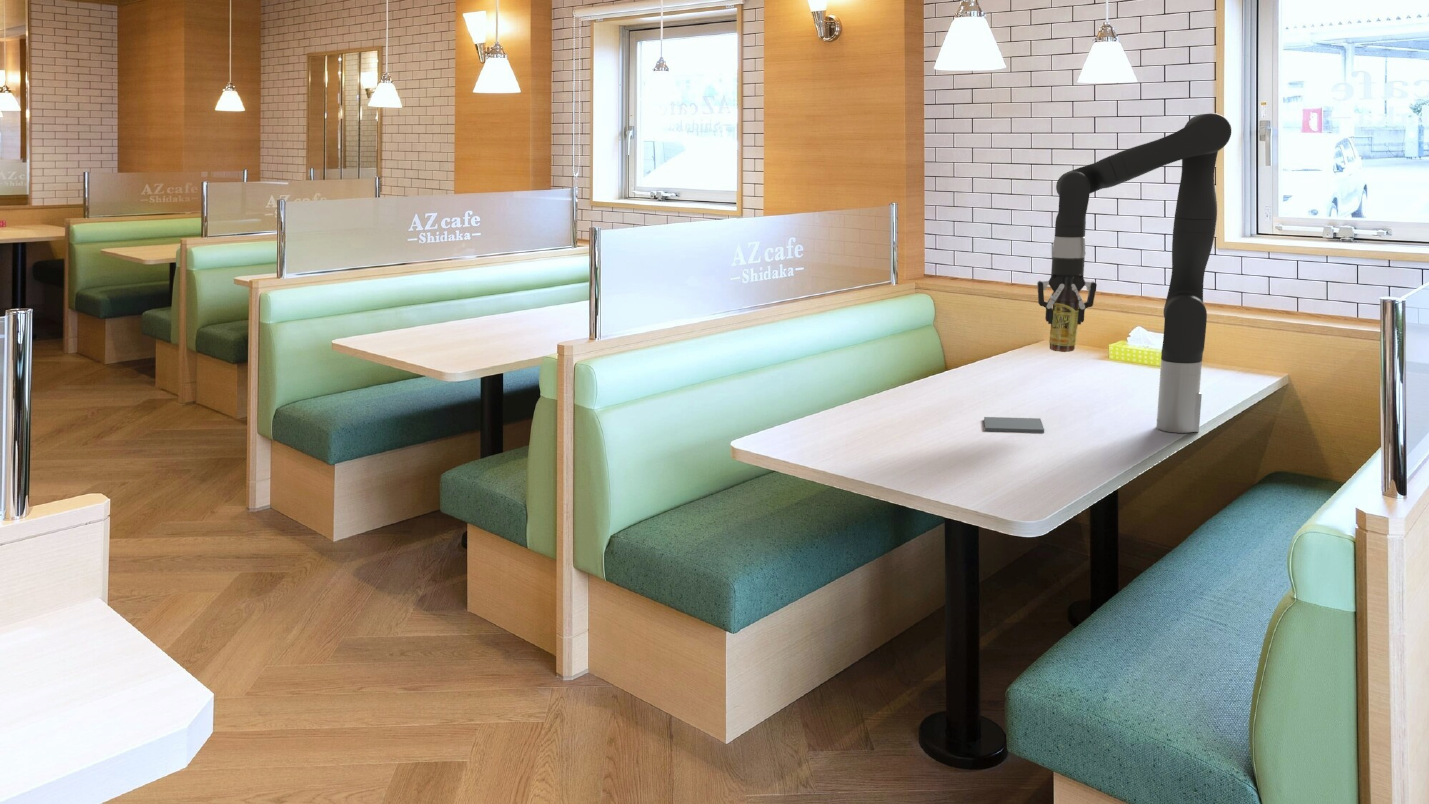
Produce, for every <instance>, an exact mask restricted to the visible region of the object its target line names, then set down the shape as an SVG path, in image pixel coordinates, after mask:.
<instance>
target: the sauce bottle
mask: <svg viewBox="0 0 1429 804" xmlns="http://www.w3.org/2000/svg"><path fill="white" fill-rule="evenodd" d="M1076 277H1077V276H1062V284H1064V288H1063V290H1062V291H1061V293H1060V295H1059V296H1058V298H1057V300H1056V301H1055V302H1054V304H1053V306H1052V324H1050V331H1049V350H1051V351H1054V352H1061V353H1066V352H1069V353H1070V352H1073V351H1075V346H1076V343H1077V334H1078V326H1079V325H1078V314H1079V301H1078V296H1077V295H1076V293H1075V292H1074V291H1073V290H1072V287H1071V285H1072V284H1076Z"/></svg>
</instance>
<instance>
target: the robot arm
mask: <svg viewBox="0 0 1429 804" xmlns="http://www.w3.org/2000/svg"><path fill="white" fill-rule="evenodd" d="M1231 136H1232V127H1231V123H1230V121H1228V119H1227V118H1226V117H1225V116H1223V115H1221V114H1219V113H1216V112H1207V113H1199V114H1197V115H1195V116H1192V117H1191V118H1190V119H1189V120H1188V121H1187V122H1186V123H1185V125H1184V127H1182V128H1181V129H1179V130H1177V131H1175V132H1172V133H1170V134H1169V135H1166V136H1164V137H1161V138H1157V139H1155V140H1153V141H1149V142H1146V143H1143V144H1139V145H1136V146H1133V147H1130V148H1127V149H1124V150H1121V151H1119V152H1116V153H1114V154H1111V155H1109V156H1106V157H1104V158H1102V159H1100V160H1098V161H1096V162H1094V163H1091V164H1087V165H1084V166H1081V167H1078V168H1076V169H1072V170H1069V171H1067V172H1064V173H1063V174H1062V175H1060V177H1058V179H1057V182H1056V186H1055V190H1056V192H1057V193H1056V194H1058V196H1059V197H1058V213H1057V215H1056V217H1055V226H1054V236H1053V237H1054V240H1053V243H1052V251H1051V252H1052V257H1051V275H1050V278H1049V280H1042V281H1041V280H1038V281H1037V300H1038V305H1039V306H1040V307H1044V308H1045V319H1044V320H1045V321H1046V322H1047V324H1048V325H1051V324H1052V308H1053V304H1054V302H1055V301H1056V300H1057V298H1058V296H1059V295H1060V293H1061V291H1062V290H1063V288H1064V284H1062V276H1077V277H1076V284H1072V285H1071V287H1072V290H1073V291H1074V292H1075V293H1076V295H1077V296H1078V301H1079V314H1078V326H1079V325H1080V326H1081V325H1082V323H1084V321H1085V311H1086V309H1088V308H1091V307H1093V306H1094V302H1095V294H1096V292H1097V291H1096V290H1097V283H1096V282H1095V281H1085V279H1084V272H1085V257H1086V229H1087V226H1086V225H1087V224H1086V223H1087V221H1086V219H1087V211H1088V205H1089V201H1090V194H1092V193H1095V192H1097V191H1099V190H1102V189H1109V188H1112V187H1116V186H1117V185H1120V184H1123V183H1126V182H1128V181H1130V180H1133V179H1135V178H1138V177H1141V176H1142V175H1145V174H1147V173H1150V172H1151V171H1155V170H1157V169H1159V168H1161V167H1164V166H1166V165H1169V164H1172V163H1175V162H1178V161H1181V174H1180V175H1181V176H1180V182H1179V187H1178V192H1177V200H1176V203H1175V204H1176V205H1175V206H1176V207H1175V213H1174V219H1173V229H1172V242H1171V275H1170V276H1171V277H1170V280H1169V281H1170V282H1169V286H1168V292H1167V296H1166V299H1165V304H1164V306H1163V307H1164V308H1163V317H1164V326H1163V339H1162V340H1163V342H1162V346H1161V356H1160V367H1159V369H1160V370H1159V371H1160V372H1159V384H1158V385H1159V386H1158V399H1157V412H1156V413H1157V414H1156V429H1158V430H1160V431H1163V432H1167V433H1168V432H1169V433H1179V434H1181V433H1182V434H1185V433H1186V434H1188V433H1193V432H1194V433H1197V432H1198V433H1199V432H1200V421H1201V420H1200V419H1201V409H1202V398H1203V397H1202V392H1200V391H1201V382H1202V381H1201V379H1202V378H1201V377H1202V365H1203V356H1204V355H1203V354H1204V350H1205V344H1206V343H1205V341H1206V334H1207V333H1206V332H1207V322H1208V321H1207V319H1208V318H1207V317H1208V313H1207V308H1206V306H1205V304H1204V279H1205V273H1206V269H1207V265H1208V261H1209V258H1210V256H1211V252H1212V248H1213V244H1214V239H1215V235H1216V227H1217V219H1218V201H1217V192H1216V186H1215V184H1216V183H1215V169H1216V165H1217V164H1216V163H1217V158H1218V152H1219V151H1221V150H1222V149H1223V148H1224V147H1225V146H1227V144H1228V143H1229V141H1230V139H1231ZM1048 286H1049V287H1050V288H1051V290H1052V293H1051V294H1050V296H1049V298H1048V300H1047V301H1045V292H1044V291H1046V290H1047V288H1048ZM1085 287H1086V290H1087V291H1088V295H1087V301H1085V302H1084V301H1083V299H1082V296H1081V294H1080V292H1081V290H1082V289H1083V288H1085Z"/></svg>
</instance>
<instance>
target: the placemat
mask: <svg viewBox="0 0 1429 804" xmlns="http://www.w3.org/2000/svg"><path fill="white" fill-rule="evenodd" d="M983 422H984V430H985V432H1003V433H1005V432H1006V433H1007V432H1008V433H1010V432H1011V433H1037V434H1038V433H1039V434H1040V433H1043V434H1044V433H1045V428H1044V425H1043V423H1042V422H1043V421H1042V418H1041V417H1040V418H1038V417H1035V418H1033V417H1004V416H1003V417H1002V416H1001V417H1000V416H999V417H995V416H984V417H983Z"/></svg>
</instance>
